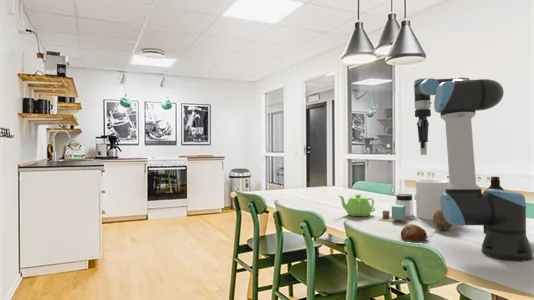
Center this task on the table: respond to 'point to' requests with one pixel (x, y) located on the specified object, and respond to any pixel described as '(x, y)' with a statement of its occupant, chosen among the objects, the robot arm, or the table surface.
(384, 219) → the board
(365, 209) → the teapot
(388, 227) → the table surface
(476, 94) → the robot arm
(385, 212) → the stub post
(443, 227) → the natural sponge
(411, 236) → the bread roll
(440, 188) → the canister
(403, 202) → the jar
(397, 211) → the teal block
